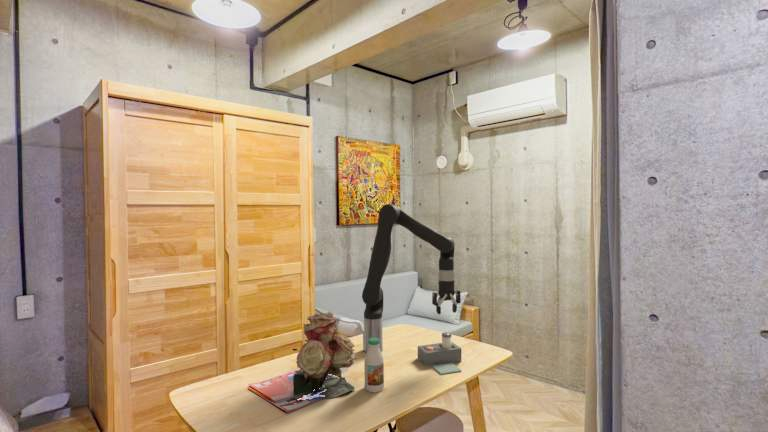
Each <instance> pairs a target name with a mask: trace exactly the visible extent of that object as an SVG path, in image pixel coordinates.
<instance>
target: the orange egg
mask: <svg viewBox="0 0 768 432" xmlns="http://www.w3.org/2000/svg"><path fill="white" fill-rule="evenodd" d="M425 350H427V351H430V350H434V347H431V346H428V347H426V348H425Z"/></svg>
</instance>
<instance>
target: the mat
mask: <svg viewBox="0 0 768 432" xmlns="http://www.w3.org/2000/svg"><path fill="white" fill-rule="evenodd" d="M431 368H432V369H434V371H436V372H437V373H438V374H439V375H440V376H443V375H448V374H454V373H455V374H456V373H461V372H462V369H461V368H459V367H458V366H457V365H456V364H454V362H452V363H445V364H439V365H432V366H431Z"/></svg>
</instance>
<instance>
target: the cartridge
mask: <svg viewBox="0 0 768 432" xmlns="http://www.w3.org/2000/svg"><path fill="white" fill-rule="evenodd" d="M451 342H452V333H451V332H448V331H447V332H445V331H444V332H441V343H442V348H443V349H450V348H451Z"/></svg>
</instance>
